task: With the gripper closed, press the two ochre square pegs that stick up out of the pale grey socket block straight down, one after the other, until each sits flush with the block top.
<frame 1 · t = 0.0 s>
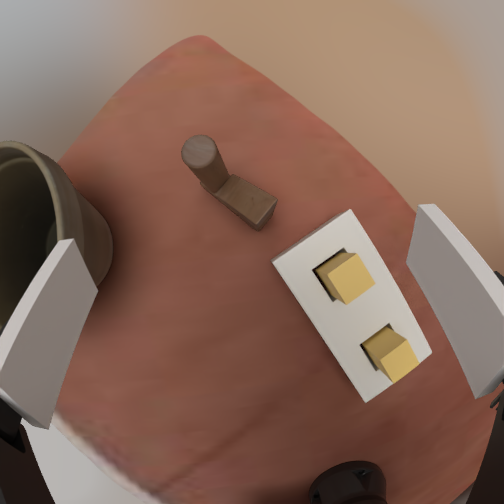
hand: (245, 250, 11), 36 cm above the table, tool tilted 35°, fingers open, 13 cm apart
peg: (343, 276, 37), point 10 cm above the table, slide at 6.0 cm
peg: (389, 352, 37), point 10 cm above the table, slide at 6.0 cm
plant pot: (77, 247, 48), on the table
socket block: (346, 303, 47), on the table
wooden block: (238, 200, 48), on the table
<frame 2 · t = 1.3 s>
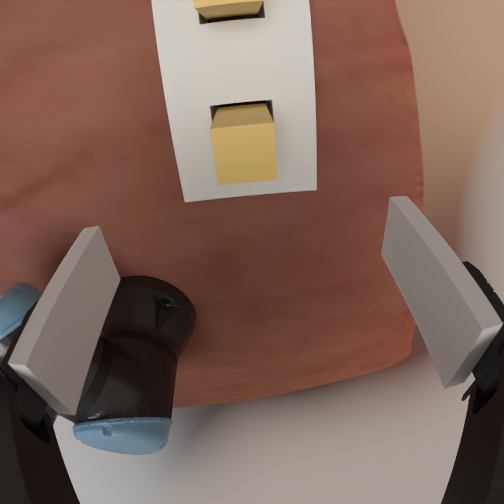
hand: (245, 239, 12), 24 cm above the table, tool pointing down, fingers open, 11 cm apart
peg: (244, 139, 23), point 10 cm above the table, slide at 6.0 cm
socket block: (237, 58, 28), on the table
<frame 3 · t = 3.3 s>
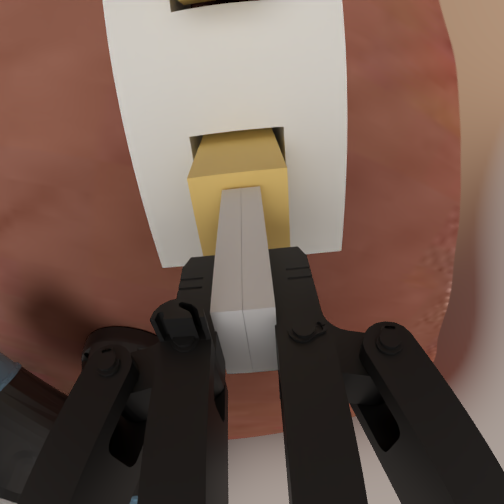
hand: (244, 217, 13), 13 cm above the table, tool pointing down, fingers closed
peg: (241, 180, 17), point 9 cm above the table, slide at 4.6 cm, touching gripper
socket block: (232, 62, 20), on the table
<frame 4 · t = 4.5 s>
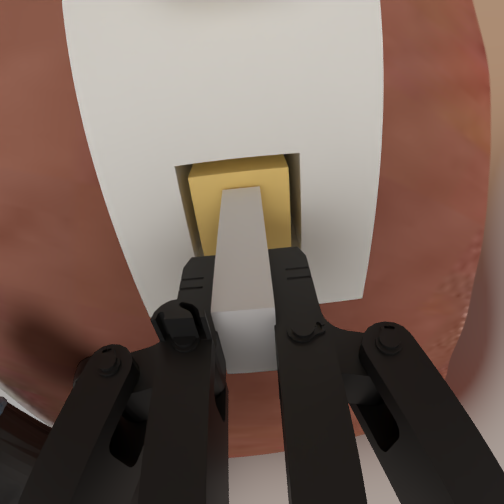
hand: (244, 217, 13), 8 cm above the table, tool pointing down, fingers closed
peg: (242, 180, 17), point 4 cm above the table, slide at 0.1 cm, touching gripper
socket block: (231, 63, 17), on the table
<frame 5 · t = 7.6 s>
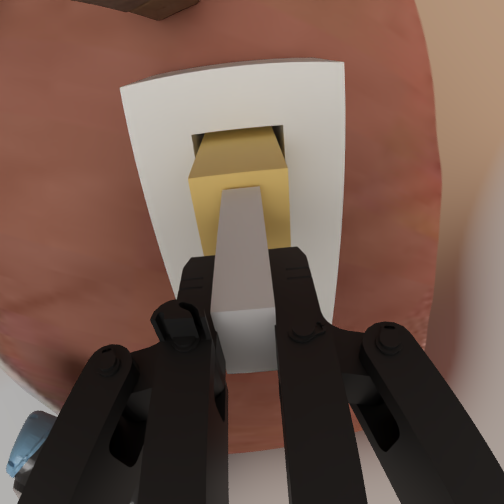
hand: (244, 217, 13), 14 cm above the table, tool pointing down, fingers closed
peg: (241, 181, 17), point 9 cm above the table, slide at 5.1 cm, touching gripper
socket block: (248, 200, 28), on the table
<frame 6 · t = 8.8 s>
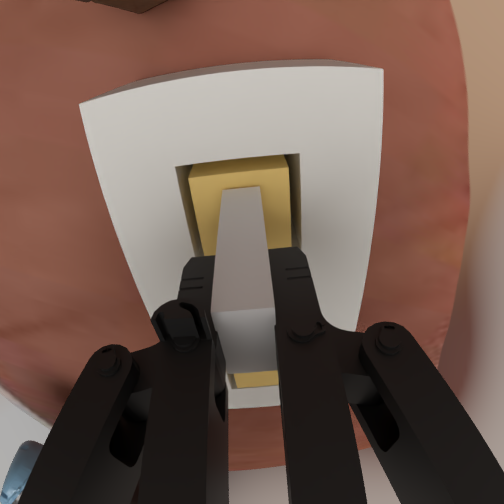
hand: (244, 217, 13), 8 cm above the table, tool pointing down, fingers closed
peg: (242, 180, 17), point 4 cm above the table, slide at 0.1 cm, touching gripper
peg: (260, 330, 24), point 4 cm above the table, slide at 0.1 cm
socket block: (250, 230, 24), on the table
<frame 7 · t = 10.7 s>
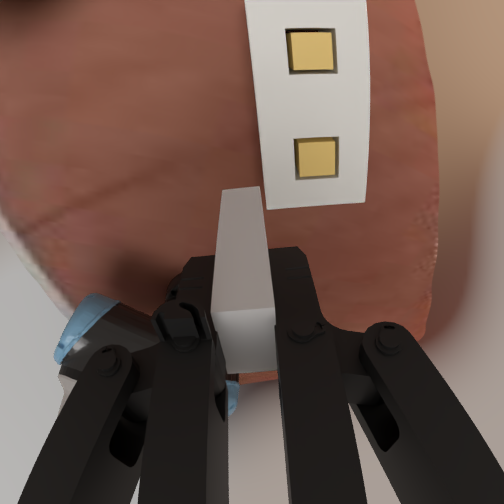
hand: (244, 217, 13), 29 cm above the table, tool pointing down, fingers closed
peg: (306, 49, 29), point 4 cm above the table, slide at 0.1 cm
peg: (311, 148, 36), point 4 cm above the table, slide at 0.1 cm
socket block: (302, 93, 36), on the table
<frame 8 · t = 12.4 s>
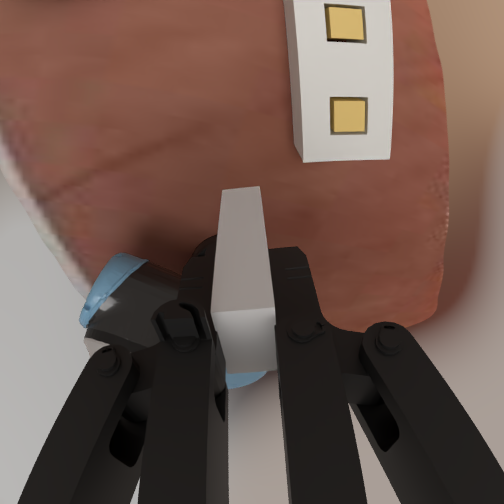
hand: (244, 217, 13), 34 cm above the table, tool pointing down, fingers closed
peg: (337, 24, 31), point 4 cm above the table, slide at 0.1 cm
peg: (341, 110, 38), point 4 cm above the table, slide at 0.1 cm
socket block: (331, 65, 38), on the table
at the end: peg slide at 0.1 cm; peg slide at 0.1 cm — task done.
